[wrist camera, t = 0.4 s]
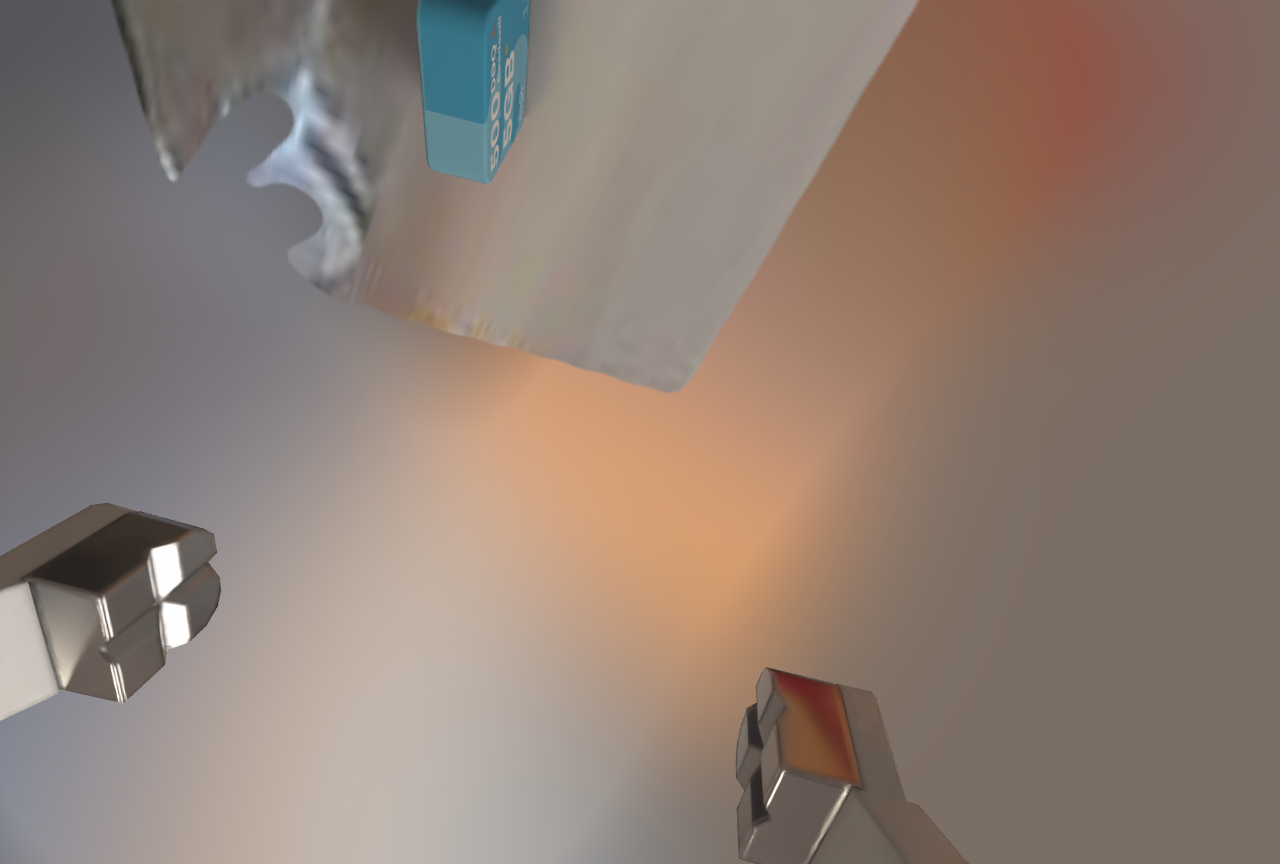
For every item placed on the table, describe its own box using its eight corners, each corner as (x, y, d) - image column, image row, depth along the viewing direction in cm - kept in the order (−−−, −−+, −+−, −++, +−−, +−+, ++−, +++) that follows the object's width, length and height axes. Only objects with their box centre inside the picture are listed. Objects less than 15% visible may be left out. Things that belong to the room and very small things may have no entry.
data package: (524, 122, 55) (486, 193, 47) (473, 109, 54) (427, 178, 47) (532, -41, 45) (486, 14, 38) (471, -58, 45) (412, -6, 37)
